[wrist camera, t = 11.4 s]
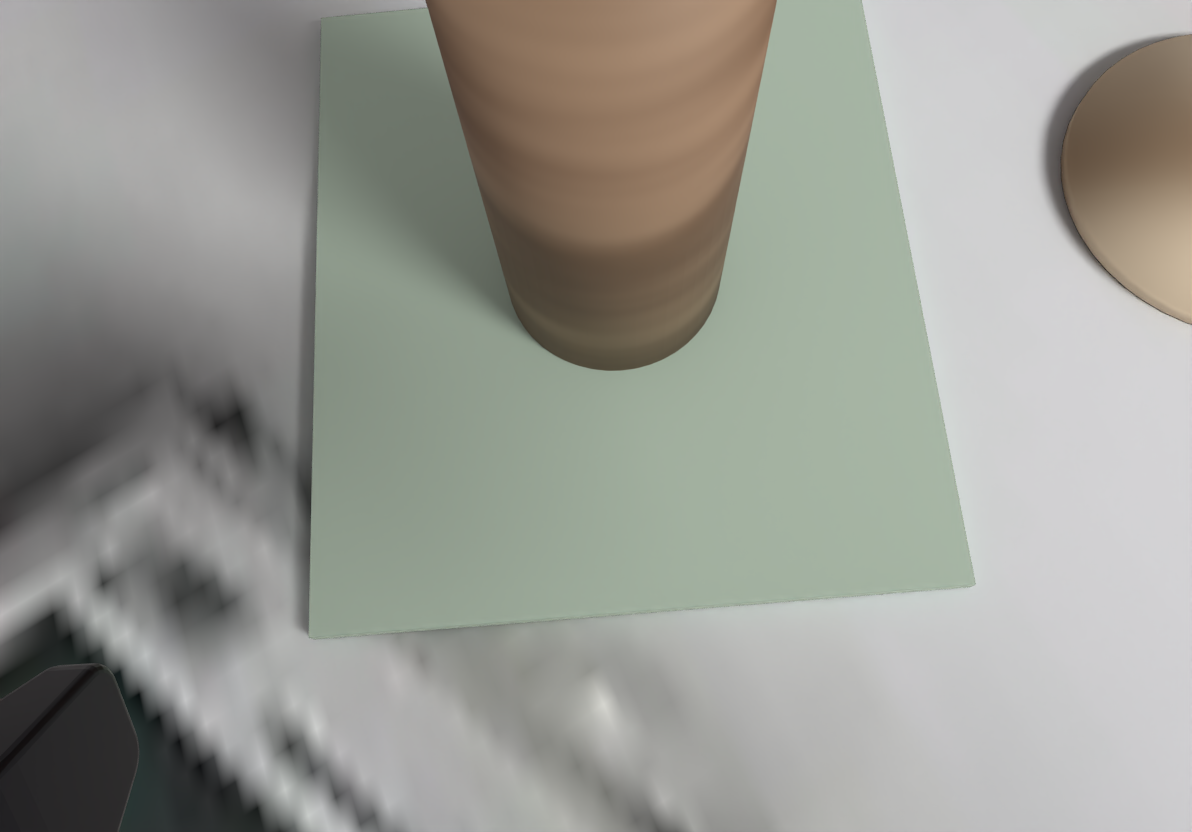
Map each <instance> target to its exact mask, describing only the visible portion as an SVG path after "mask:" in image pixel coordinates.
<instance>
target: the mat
mask: <svg viewBox="0 0 1192 832" xmlns="http://www.w3.org/2000/svg"><path fill="white" fill-rule="evenodd" d="M975 584H976V583H975V578H974V573H973V567H972V562H971V557H970V552H969V547H968V542H967V537H966V532H965V527H964V521H963V516H962V511H961V506H960V501H959V496H958V491H957V486H956V481H955V475H954V470H953V465H952V460H951V455H950V450H949V445H948V440H947V434H946V429H945V424H944V419H943V414H942V409H941V404H940V399H939V394H938V388H937V383H936V378H935V373H934V368H933V363H932V358H931V353H930V347H929V342H928V337H927V332H926V327H925V322H924V317H923V312H922V307H921V301H920V296H919V291H918V286H917V281H916V276H915V271H914V266H913V261H912V255H911V250H910V245H909V240H908V235H907V230H906V225H905V220H904V214H903V209H902V204H901V199H900V194H899V189H898V184H897V179H896V174H895V168H894V163H893V158H892V153H891V148H890V143H889V138H888V133H887V127H886V122H885V117H884V112H883V107H882V102H881V97H880V92H879V87H878V81H877V76H876V71H875V66H874V61H873V56H872V51H871V46H870V41H869V35H868V30H867V25H866V20H865V15H864V10H863V5H862V0H777V3H776V8H775V13H774V18H773V23H772V28H771V33H770V38H769V43H768V48H767V53H766V58H765V63H764V68H763V73H762V78H761V82H760V87H759V92H758V97H757V102H756V107H755V112H754V117H753V122H752V127H751V132H750V137H749V142H748V147H747V152H746V157H745V162H744V167H743V172H742V177H741V182H740V187H739V192H738V197H737V202H736V207H735V212H734V217H733V222H732V227H731V232H730V237H729V242H728V247H727V252H726V257H725V262H724V267H723V272H722V277H721V282H720V287H719V291H718V295H717V299H716V302H715V304H714V307H713V309H712V312H711V314H710V316H709V317H708V319H707V321H706V322H705V324H704V325H703V327H702V328H701V329H700V330H699V332H698V333H697V334H696V335H695V336H694V337H693V338H692V339H691V340H690V341H689V342H688V343H687V344H686V345H685V346H683V347H682V348H681V349H679V350H678V351H677V352H675V353H674V354H672V355H670V356H668V357H666V358H665V359H663V360H661V361H658V362H656V363H653V364H651V365H647V366H644V367H640V368H636V369H629V370H622V371H604V370H596V369H590V368H586V367H581V366H578V365H575V364H572V363H570V362H567V361H565V360H563V359H561V358H559V357H557V356H555V355H554V354H552V353H551V352H549V351H548V350H546V349H545V348H544V347H542V346H541V345H540V344H539V343H538V342H537V341H536V340H535V339H534V338H533V337H532V336H531V335H530V334H529V333H528V331H527V330H526V329H525V328H524V326H523V325H522V323H521V321H520V320H519V318H518V316H517V315H516V312H515V310H514V307H513V305H512V302H511V299H510V295H509V292H508V288H507V285H506V281H505V278H504V274H503V271H502V267H501V264H500V260H499V257H498V253H497V250H496V246H495V243H494V239H493V236H492V232H491V229H490V225H489V222H488V218H487V214H486V211H485V207H484V204H483V200H482V197H481V193H480V190H479V186H478V183H477V179H476V176H475V172H474V169H473V165H472V162H471V158H470V155H469V151H468V148H467V144H466V141H465V137H464V134H463V130H462V127H461V123H460V120H459V116H458V113H457V109H456V106H455V102H454V99H453V95H452V92H451V88H450V84H449V81H448V77H447V74H446V70H445V67H444V63H443V60H442V56H441V53H440V49H439V46H438V42H437V39H436V35H435V32H434V28H433V25H432V21H431V18H430V14H429V11H428V8H421V9H410V10H400V11H389V12H379V13H368V14H358V15H347V16H337V17H326V18H321V53H320V102H319V151H318V200H317V249H316V298H315V347H314V396H313V445H312V494H311V543H310V592H309V638H312V639H325V638H338V637H350V636H363V635H375V634H388V633H400V632H413V631H426V630H438V629H451V628H463V627H476V626H488V625H501V624H513V623H526V622H539V621H551V620H564V619H576V618H589V617H601V616H614V615H626V614H639V613H652V612H664V611H677V610H689V609H702V608H714V607H727V606H740V605H752V604H765V603H777V602H790V601H802V600H815V599H827V598H840V597H853V596H865V595H878V594H890V593H903V592H915V591H928V590H941V589H953V588H966V587H971V586H973V585H975Z"/></svg>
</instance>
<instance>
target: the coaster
mask: <svg viewBox="0 0 1192 832" xmlns="http://www.w3.org/2000/svg"><path fill="white" fill-rule="evenodd" d="M1061 179H1062V185H1063V190H1064V196H1065V200H1066V203H1067V206H1068V209H1069V212H1070V215H1071V217H1072V219H1073V222H1074V224H1075V226H1076V228H1077V230H1078V232H1079V234H1080V236H1081V237H1082V239H1083V240H1084V242H1085V243H1086V245H1087V246H1088V248H1089V249H1090V251H1091V252H1092V254H1093V255H1094V256H1095V257H1096V258H1097V259H1098V261H1099V262H1100V263H1101V264H1102V265H1103V266H1104V268H1105V269H1106V270H1107V271H1108V272H1109V273H1110V274H1111V275H1112V276H1113V277H1115V278H1116V279H1117V280H1118V281H1119V282H1120V283H1121V284H1122V285H1123V286H1124V287H1126V288H1127V289H1128V290H1130V291H1131V292H1132V293H1134V294H1135V295H1137V296H1138V297H1139V298H1141V299H1142V300H1143V301H1145V302H1147V303H1148V304H1150V305H1152V306H1154V307H1155V308H1157V309H1159V310H1161V311H1162V312H1164V313H1166V314H1168V315H1171V316H1173V317H1175V318H1177V319H1180V320H1182V321H1184V322H1186V323H1189V324H1192V34H1191V35H1185V36H1178V37H1174V38H1170V39H1166V40H1163V41H1159V42H1156V43H1153V44H1151V45H1148V46H1146V47H1143V48H1141V49H1138V50H1137V51H1135V52H1133V53H1131V54H1130V55H1128V56H1126V57H1124V58H1123V59H1121V60H1120V61H1118V62H1117V63H1116V64H1114V65H1113V66H1112V67H1111V68H1109V69H1108V70H1107V71H1106V72H1105V73H1104V74H1103V75H1102V76H1101V77H1100V78H1099V79H1098V80H1097V81H1096V82H1095V83H1094V84H1093V86H1092V87H1091V88H1090V90H1089V91H1088V93H1087V94H1086V95H1085V97H1084V98H1083V100H1082V101H1081V103H1080V104H1079V106H1078V107H1077V108H1076V110H1075V112H1074V115H1073V117H1072V119H1071V121H1070V123H1069V125H1068V128H1067V131H1066V135H1065V138H1064V141H1063V148H1062V156H1061Z"/></svg>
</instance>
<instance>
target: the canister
mask: <svg viewBox="0 0 1192 832" xmlns="http://www.w3.org/2000/svg"><path fill="white" fill-rule="evenodd" d="M776 3H777V0H426V4H427V7H428V11H429V14H430V18H431V21H432V25H433V28H434V32H435V35H436V39H437V42H438V46H439V49H440V53H441V56H442V60H443V63H444V67H445V70H446V74H447V77H448V81H449V84H450V88H451V92H452V95H453V99H454V102H455V106H456V109H457V113H458V116H459V120H460V123H461V127H462V130H463V134H464V137H465V141H466V144H467V148H468V151H469V155H470V158H471V162H472V165H473V169H474V172H475V176H476V179H477V183H478V186H479V190H480V193H481V197H482V200H483V204H484V207H485V211H486V214H487V218H488V222H489V225H490V229H491V232H492V236H493V239H494V243H495V246H496V250H497V253H498V257H499V260H500V264H501V267H502V271H503V274H504V278H505V281H506V285H507V288H508V292H509V295H510V299H511V302H512V305H513V307H514V310H515V312H516V315H517V316H518V318H519V320H520V321H521V323H522V325H523V326H524V328H525V329H526V330H527V331H528V333H529V334H530V335H531V336H532V337H533V338H534V339H535V340H536V341H537V342H538V343H539V344H540V345H541V346H542V347H544V348H545V349H546V350H548V351H549V352H551V353H552V354H554V355H555V356H557V357H559V358H561V359H563V360H565V361H567V362H570V363H572V364H575V365H578V366H581V367H586V368H590V369H596V370H604V371H622V370H629V369H636V368H640V367H644V366H647V365H651V364H653V363H656V362H658V361H661V360H663V359H665V358H666V357H668V356H670V355H672V354H674V353H675V352H677V351H678V350H679V349H681V348H682V347H683V346H685V345H686V344H687V343H688V342H689V341H690V340H691V339H692V338H693V337H694V336H695V335H696V334H697V333H698V332H699V330H700V329H701V328H702V327H703V325H704V324H705V322H706V321H707V319H708V317H709V316H710V314H711V312H712V309H713V307H714V304H715V302H716V299H717V295H718V291H719V287H720V282H721V277H722V272H723V267H724V262H725V257H726V252H727V247H728V242H729V237H730V232H731V227H732V222H733V217H734V212H735V207H736V202H737V197H738V192H739V187H740V182H741V177H742V172H743V167H744V162H745V157H746V152H747V147H748V142H749V137H750V132H751V127H752V122H753V117H754V112H755V107H756V102H757V97H758V92H759V87H760V82H761V78H762V73H763V68H764V63H765V58H766V53H767V48H768V43H769V38H770V33H771V28H772V23H773V18H774V13H775V8H776Z"/></svg>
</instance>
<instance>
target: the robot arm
mask: <svg viewBox="0 0 1192 832" xmlns="http://www.w3.org/2000/svg"><path fill="white" fill-rule="evenodd" d="M138 760H139V744H138V739H137V735H136V732H135V729H134V727H133V724H132V721H131V719H130V716H129V714H128V711H127V708H126V706H125V703H124V700H123V698H122V695H121V692H120V690H119V687H118V685H117V682H116V679H115V677H114V675H113V673H112V672H111V671H110V670H109V669H108V668H107V667H106V666H104V665H101V664H97V663H91V664H75V665H60V666H55V667H51V668H48V669H47V670H45V671H43V672H42V673H40V674H39V675H37V676H36V677H34V678H33V679H31V680H29V681H28V682H26V683H25V684H23V685H22V686H20V687H19V688H17V689H16V690H14V691H13V692H11V693H10V694H8V695H7V696H5V697H4V698H2V699H1V700H0V832H119V828H120V825H121V822H122V818H123V815H124V812H125V808H126V805H127V802H128V798H129V795H130V791H131V788H132V785H133V781H134V778H135V775H136V771H137V767H138Z"/></svg>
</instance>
